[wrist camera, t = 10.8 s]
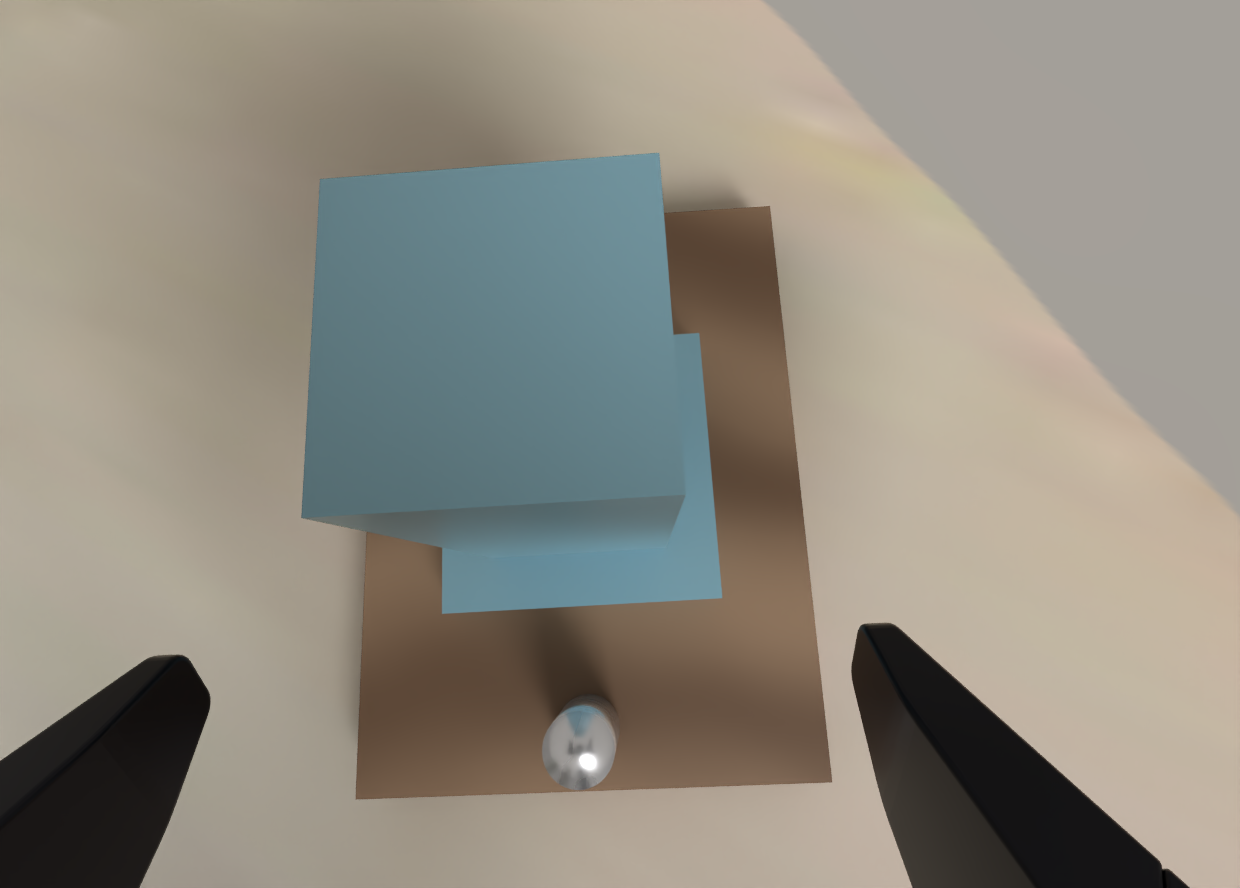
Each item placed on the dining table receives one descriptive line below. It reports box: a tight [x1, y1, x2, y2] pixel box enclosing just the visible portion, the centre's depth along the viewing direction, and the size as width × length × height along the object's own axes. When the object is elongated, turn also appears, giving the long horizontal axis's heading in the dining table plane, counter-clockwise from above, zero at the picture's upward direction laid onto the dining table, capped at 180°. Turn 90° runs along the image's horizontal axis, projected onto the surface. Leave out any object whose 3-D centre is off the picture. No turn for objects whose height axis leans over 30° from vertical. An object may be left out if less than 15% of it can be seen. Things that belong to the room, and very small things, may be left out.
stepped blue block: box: [301, 153, 722, 614], centre depth 13 cm, size 7×7×10 cm
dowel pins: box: [542, 694, 620, 790], centre depth 17 cm, size 15×2×2 cm, turn 2°
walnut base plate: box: [356, 206, 832, 799], centre depth 19 cm, size 16×12×2 cm
